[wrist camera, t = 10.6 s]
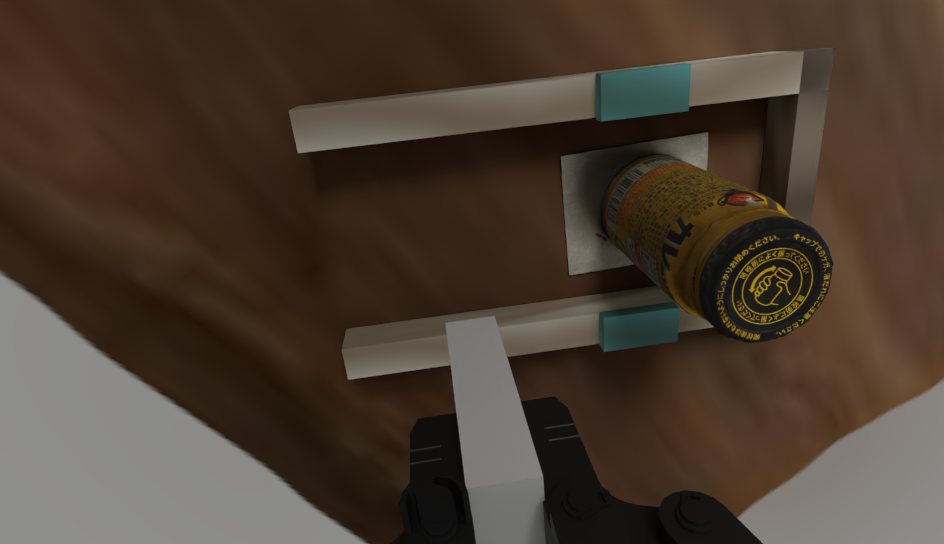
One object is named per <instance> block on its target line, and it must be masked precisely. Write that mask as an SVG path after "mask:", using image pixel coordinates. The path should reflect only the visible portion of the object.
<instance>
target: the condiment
mask: <svg viewBox="0 0 944 544" xmlns="http://www.w3.org/2000/svg"><path fill="white" fill-rule="evenodd" d="M707 160H708V132H707V133H700V134H694V135H687V136H680V137H674V138H670V139H661V140H655V141H650V142H643V143H638V144H631V145H627V146H622V147H614V148H608V149H601V150H594V151H589V152H584V153H579V154H572V155H566V156H561V167H562V186H563V202H564V215H565V231H566V239H567V255H568V265H569V275H575V274H582V273H587V272H592V271H601V270H605V269H610V268H618V267H622V266H628V265H633V264H635V265H636V266H637V267H638V268H640V270H642V271H643V272H644V273H645V274H646V275H647V276H648V277H649V278H650V279H651V280H652V281H653V282H654V283H655V284H656V285H657V286H658V287H659V288H660V289H661V290H662V291H664V292H665V293H666V294H667V295H668V296H669V297H670V298H671V299H672V300H673V301H674V302H675V303H676V304H677V305H679V306H680V307H681V308H682V309H683V310H684V311H686V312H687V313H688V314H692V315H694V316H697V317H699V318H703V319H704V320H705V321H707V322H709V323H710V324H711V325H713V327H714V328H715V330H716V331H718V332H719V333H721V334H722V335H724V336H727V337H729V338H734V339H737V340H741V341H743V342H761V341H769V340H772V339H777V338H779V337H783V336H785V335H787V334H788V333H790V332H791V331H793V330H794V329H796V328H798V327H800V326H801V325H803V324H804V323H806V322H807V321H808V320H809V319H810V318H811V316H812V315H813V314H814V313H815V312H816V310H817V309H818V308H819V306H820V305H821V304H822V302H823V300H824V298H825V296H826V294H827V292H828V289H829V286H830V280H831V275H832V266H833V261H832V258H831V256H830V251H829V248H828V246H827V245H826V243H825V242H824V240H823V239H822V238H821V236H820V235H819V234H818V233H817V232H816V231H815V229H814V228H812V227H810V226H809V225H807V224H805V223H803V222H802V221H799V220H796V219H795V218H793V217H791V216H790V215H788V213H787V212H786V210H785V209H784V208H782V206H781V205H780V204H778V203H777V202H776V201H774V200H772V199H771V198H769V197H767V196H765V195H762V194H760V193H758V192H756V191H753V190H751V189H748V188H746V187H744V186H742V185H739V184H737V183H734V182H732V181H730V180H727V179H725V178H722V177H720V176H718V175H716V174H713V173H711V172H708V171H707ZM613 168H616V170H615V171H614V170H613ZM597 233H598V234H601V236H602V237H601V238H599V237H597V236H596V234H597ZM603 237H606V238H607V241H605V240H604V239H603Z"/></svg>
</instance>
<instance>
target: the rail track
mask: <svg viewBox="0 0 944 544" xmlns="http://www.w3.org/2000/svg"><path fill="white" fill-rule="evenodd" d="M834 49H835V48H799V49H790V50H782V51H773V52H764V53H755V54H747V55H738V56H729V57H720V58H712V59H703V60H694V61H686V62H677V63H668V64H659V65H651V66H642V67H633V68H625V69H616V70H607V71H598V72H590V73H581V74H572V75H564V76H555V77H546V78H537V79H529V80H520V81H511V82H502V83H494V84H485V85H476V86H468V87H459V88H450V89H441V90H433V91H424V92H415V93H407V94H398V95H389V96H380V97H372V98H363V99H354V100H346V101H337V102H328V103H319V104H311V105H302V106H297V107H295V108H293V109H291V110H289V115H290V120H291V124H292V129H293V133H294V138H295V142H296V147H297V151H298V153H304V152H313V151H321V150H330V149H338V148H346V147H355V146H363V145H371V144H380V143H388V142H397V141H405V140H413V139H422V138H430V137H438V136H447V135H455V134H463V133H472V132H480V131H489V130H497V129H505V128H514V127H522V126H530V125H539V124H547V123H556V122H564V121H572V120H581V119H589V118H596V120H598V121H601V122H602V121H610V120H619V119H627V118H635V117H644V116H652V115H660V114H669V113H677V112H685V111H689V106H698V105H706V104H715V103H723V102H731V101H740V100H748V99H756V98H765V97H769V100H768V110H767V120H766V129H765V139H764V149H763V159H762V169H761V179H760V189H759V193H760V194H762V195H765V196H767V197H769V198H771V199H772V200H774V201H776V202H777V203H778V204H780V205H781V206H782V208H784V209H785V210H786V212H787V213H788V215H790V216H791V217H793V218H795V219H796V220H799V221H802V222H803V223H805V224H807V225H809V226H810V221H811V214H812V206H813V199H814V192H815V185H816V178H817V171H818V164H819V156H820V149H821V142H822V135H823V128H824V121H825V114H826V106H827V99H828V92H829V85H830V78H831V71H832V64H833V56H834ZM489 316H495V319H496V322H497V325H498V328H499V332H500V335H501V338H502V342H503V345H504V348H505V352H506V355H507V357H510V356H517V355H524V354H531V353H538V352H545V351H552V350H559V349H566V348H573V347H580V346H587V345H594V344H600V347H601V348H602V350H603V351H604V352H608V351H615V350H622V349H628V348H635V347H642V346H649V345H656V344H663V343H670V342H677V341H678V332H685V331H692V330H699V329H706V328H713V325H711V324H710V323H709V322H707V321H705V320H704V319H703V318H699V317H697V316H694V315H692V314H688V313H687V312H686V311H684V310H683V309H682V308H681V307H680V306H679V305H677V304H676V303H675V302H674V301H673V300H672V299H671V298H670V297H669V296H668V295H667V294H666V293H665V292H664V291H662V290H661V289H660V288H659V287H658V286H653V287H646V288H639V289H631V290H624V291H617V292H610V293H602V294H595V295H588V296H581V297H573V298H566V299H559V300H552V301H544V302H537V303H530V304H523V305H515V306H508V307H501V308H494V309H487V310H479V311H472V312H465V313H458V314H450V315H443V316H436V317H429V318H421V319H414V320H407V321H400V322H392V323H385V324H378V325H371V326H363V327H356V328H349V329H346V333H345V337H344V341H343V346H342V354H343V358H344V363H345V367H346V372H347V376H348V380H350V379H357V378H364V377H371V376H378V375H385V374H392V373H399V372H406V371H413V370H420V369H427V368H434V367H441V366H448V365H450V356H449V348H448V340H447V332H446V324H445V323H448V322H455V321H462V320H469V319H476V318H483V317H489Z"/></svg>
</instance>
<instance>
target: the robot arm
mask: <svg viewBox="0 0 944 544" xmlns="http://www.w3.org/2000/svg"><path fill="white" fill-rule="evenodd" d="M445 324H446V332H447V340H448V348H449V356H450V365H451V373H452V381H453V389H454V397H455V405H456V413H453V414H446V415H440V416H433V417H427V418H420V419H418V420H417V422H416V424H415V426H414V427H413V429H412V431H411V433H410V483H409V485H408V486H407V487H406V488H405V490H404V491H403V492H402V495H401V498H400V502H399V505H400V510H401V515H402V519H403V524H404V528H405V530H404V531H403V532H402V534H401V535H400V536H399V537H398V538H397V539H396V540H395V541H394V542H392V543H391V544H762V543H761V541H760V540H759V539H757V537H755V536H754V535H753V534H752V533H751V532H750V531H749V530H748V529H747V528H746V527H745V526H744V525H743V524H742V523H741V522H740V521H739V520H738V519H737V518H736V517H735V516H734V515H733V514H732V513H731V512H730V511H729V510H728V509H727V508H726V507H725V506H724V505H723V504H721V503H720V502H719V501H717V500H716V499H714V498H713V497H711V496H708V495H706V494H703V493H701V492H695V491H686V490H685V491H680V492H675V493H672V494H670V495H669V496H667V497H666V498H664V499H663V501H662V503H661V505H660V507H651V506H642V505H635V504H631V503H626V502H624V501H621V500H619V499H617V498H615V497H614V496H612V495H611V494H610V493H609V491H608V490H606V489H605V488H603V487H602V486H601V484H600V482H599V481H598V478H597V476H596V474H595V471H594V469H593V467H592V464H591V462H590V460H589V457H588V455H587V452H586V450H585V448H584V445H583V443H582V441H581V438H580V437H579V434H578V431H577V429H576V426H575V425H574V422H573V419H572V417H571V415H570V412H569V410H568V408H567V407H566V406H565V405H564V404H563V403H561V402H560V401H559V400H558V399H557V398H556V397H548V398H541V399H535V400H528V401H522V402H521V401H520V398H519V395H518V391H517V388H516V385H515V381H514V378H513V375H512V372H511V368H510V365H509V362H508V358H507V355H506V352H505V348H504V345H503V342H502V338H501V335H500V332H499V328H498V325H497V322H496V319H495V316H489V317H483V318H476V319H469V320H462V321H455V322H448V323H445Z"/></svg>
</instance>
